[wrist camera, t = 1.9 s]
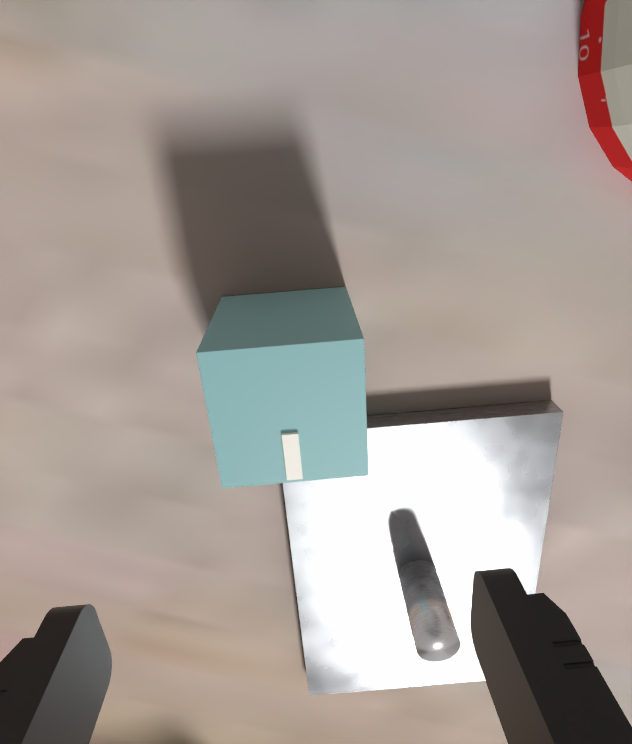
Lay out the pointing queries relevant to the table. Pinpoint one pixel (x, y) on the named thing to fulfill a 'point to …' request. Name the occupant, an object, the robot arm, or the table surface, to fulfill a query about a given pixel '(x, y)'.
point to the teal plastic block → (285, 387)
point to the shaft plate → (418, 542)
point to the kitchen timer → (608, 77)
